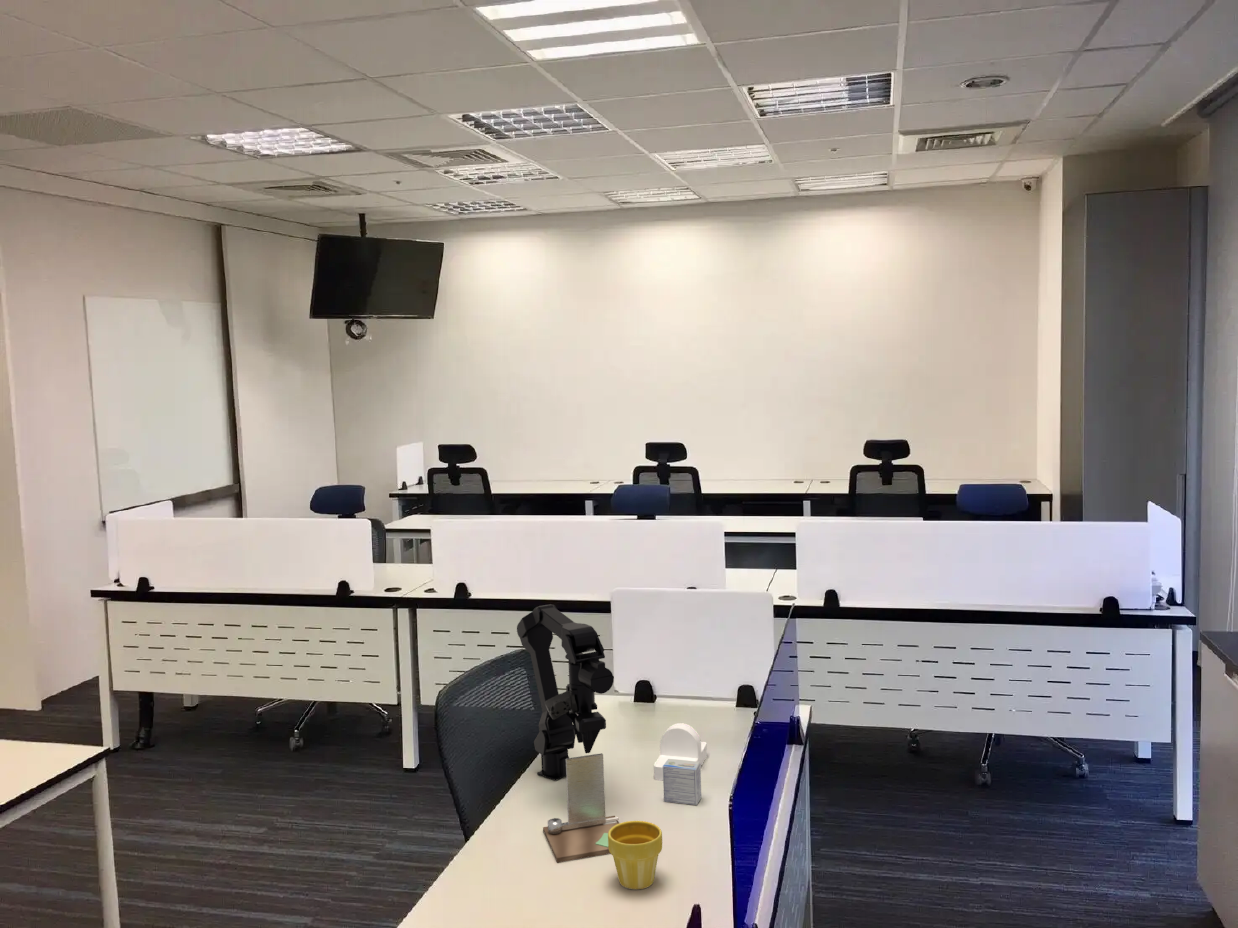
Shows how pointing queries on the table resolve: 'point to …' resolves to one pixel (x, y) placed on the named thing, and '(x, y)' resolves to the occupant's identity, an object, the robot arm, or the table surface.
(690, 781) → the medicine box
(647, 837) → the plant pot
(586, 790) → the lever
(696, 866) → the table surface
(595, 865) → the table surface
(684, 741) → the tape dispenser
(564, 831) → the board
